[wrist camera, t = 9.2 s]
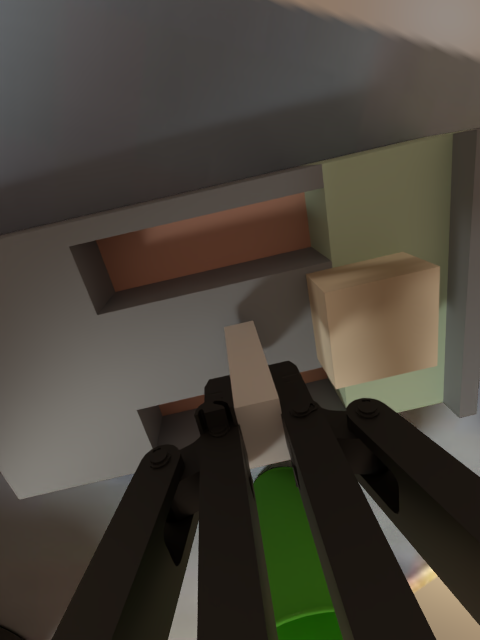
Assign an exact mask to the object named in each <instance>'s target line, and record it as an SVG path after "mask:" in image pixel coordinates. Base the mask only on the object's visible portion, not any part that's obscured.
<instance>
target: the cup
mask: <svg viewBox="0 0 480 640" xmlns="http://www.w3.org/2000/svg"><path fill="white" fill-rule="evenodd" d="M253 485H254V491H255V498H256V504H257V510H258V516H259V523H260V529H261V535H262V541H263V547H264V554H265V560H266V566H267V572H268V579H269V585H270V591H271V597H272V603H273V610H274V616H275V622H276V628H277V635H278V640H343V638H342V634H341V631H340V627H339V624H338V621H337V617H336V614H335V610H334V607H333V604H332V600H331V597H330V594H329V590H328V587H327V583H326V580H325V577H324V573H323V570H322V567H321V563H320V560H319V556H318V553H317V550H316V546H315V543H314V539H313V536H312V533H311V529H310V526H309V523H308V519H307V516H306V512H305V509H304V506H303V502H302V499H301V495H300V492H299V489H298V487H296V482H295V477H294V472H293V468H291V467H278V468H273V469H271V470H268V471H266V472H264V473H263V474H261V475H260V476H259V477H258V478H257V479H256V481H255V482H254V484H253Z"/></svg>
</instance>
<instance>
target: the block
mask: <svg viewBox="0 0 480 640" xmlns="http://www.w3.org/2000/svg"><path fill="white" fill-rule="evenodd" d="M306 279H307V286H308V294H309V301H310V308H311V315H312V322H313V330H314V337H315V344H316V351H317V359H318V360H319V362H320V364H321V365H322V367H323V369H324V370H325V372H326V374H327V375H328V377H329V379H330V380H331V382H332V384H333V385H334V387H335V389H339V388H344V387H348V386H352V385H357V384H361V383H365V382H370V381H374V380H378V379H383V378H387V377H391V376H396V375H400V374H404V373H409V372H413V371H417V370H422V369H426V368H430V367H435V366H437V362H438V324H439V286H440V266H438V265H435V264H433V263H430V262H428V261H425V260H423V259H420V258H418V257H415V256H413V255H410V254H408V253H405V252H399V253H395V254H391V255H386V256H382V257H378V258H373V259H369V260H365V261H360V262H356V263H352V264H347V265H343V266H339V267H334V268H330V269H326V270H321V271H317V272H313V273H308V274H306Z"/></svg>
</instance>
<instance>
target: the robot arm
mask: <svg viewBox="0 0 480 640" xmlns="http://www.w3.org/2000/svg"><path fill="white" fill-rule="evenodd" d="M224 332H225V339H226V347H227V355H228V363H229V371H230V375H227V376H222V377H218V378H214V379H209V381H208V382H207V384H206V386H205V387H204V396H205V397H204V403H203V404H201V405H200V406H199V407H198V408H197V409H196V411H195V414H194V417H195V420H196V423H197V426H198V429H199V432H200V437H199V438H198V439H197V440H196V441H195V442H193V443H192V444H190V445H188V446H186V447H184V448H182V449H180V450H179V449H178V448H177V447H176V446H174V445H170V444H165V445H160V446H157V447H155V448H153V449H151V450H150V451H149V452H148V453H146V454H145V456H144V457H143V458H142V460H141V462H140V464H139V466H138V468H137V470H136V472H135V474H134V476H133V478H132V480H131V482H130V484H129V486H128V488H127V490H126V492H125V494H124V496H123V498H122V500H121V502H120V504H119V506H118V508H117V510H116V512H115V514H114V516H113V518H112V520H111V522H110V524H109V526H108V528H107V530H106V532H105V534H104V536H103V538H102V540H101V542H100V544H99V546H98V548H97V550H96V552H95V554H94V556H93V558H92V560H91V562H90V564H89V566H88V568H87V570H86V572H85V574H84V576H83V578H82V580H81V582H80V584H79V586H78V588H77V590H76V592H75V594H74V596H73V598H72V600H71V602H70V604H69V606H68V608H67V610H66V612H65V614H64V616H63V618H62V620H61V622H60V624H59V626H58V628H57V630H56V632H55V634H54V636H53V638H52V640H168V637H169V633H170V629H171V625H172V621H173V617H174V614H175V610H176V606H177V602H178V598H179V594H180V590H181V587H182V583H183V579H184V575H185V571H186V567H187V563H188V560H189V556H190V552H191V548H192V544H193V540H194V536H195V532H196V529H197V525H198V521H199V555H198V626H197V640H278V635H277V628H276V622H275V616H274V610H273V603H272V597H271V591H270V585H269V579H268V572H267V566H266V560H265V554H264V547H263V541H262V535H261V529H260V523H259V516H258V510H257V504H256V498H255V491H254V485H253V480H252V476H251V472H250V469H252V468H256V467H260V466H265V465H269V464H274V463H278V462H282V461H287V460H291V462H292V467H293V472H294V477H295V482H296V487H298V489H299V492H300V495H301V499H302V502H303V506H304V509H305V512H306V516H307V519H308V523H309V526H310V529H311V533H312V536H313V539H314V543H315V546H316V550H317V553H318V556H319V560H320V563H321V567H322V570H323V573H324V577H325V580H326V583H327V587H328V590H329V594H330V597H331V600H332V604H333V607H334V610H335V614H336V617H337V621H338V624H339V627H340V631H341V634H342V638H343V640H436V638H435V636H434V634H433V632H432V630H431V628H430V626H429V624H428V622H427V620H426V618H425V616H424V614H423V612H422V610H421V608H420V606H419V604H418V602H417V600H416V598H415V596H414V594H413V592H412V590H411V588H410V586H409V584H408V582H407V580H406V578H405V576H404V574H403V572H402V570H401V568H400V566H399V564H398V562H397V559H396V557H395V555H394V553H393V551H392V549H391V547H390V545H389V543H388V541H387V539H386V537H385V535H384V533H383V531H382V529H381V527H380V525H379V523H378V521H377V519H376V517H375V515H374V513H373V511H372V509H371V507H370V505H369V503H368V501H367V499H366V497H365V495H364V493H363V491H362V489H361V487H360V485H359V483H360V484H361V486H362V487H363V488H364V489H365V490H366V491H367V493H368V494H369V495H370V496H371V497H372V499H373V500H374V501H375V502H376V503H377V504H378V506H379V507H380V508H381V509H382V510H383V512H384V513H385V514H386V515H387V516H388V517H389V519H390V520H391V521H392V522H393V523H394V525H395V526H396V527H397V528H398V529H399V530H400V532H401V533H402V534H403V535H404V536H405V538H406V539H407V540H408V541H409V542H410V543H411V545H412V546H413V547H414V548H415V549H416V551H417V552H418V553H419V554H420V555H421V557H422V558H423V559H424V560H425V561H426V562H427V564H428V565H429V566H430V567H431V568H432V570H433V571H434V572H435V573H436V574H437V575H438V577H439V578H440V579H441V580H442V581H443V582H444V584H445V585H446V586H447V587H448V588H449V590H450V591H451V592H452V593H453V594H454V596H455V597H456V598H457V599H458V600H459V601H460V603H461V604H462V605H463V606H464V607H465V609H466V610H467V611H468V612H469V613H470V614H471V616H472V617H473V618H474V619H475V620H476V622H477V623H478V624H479V625H480V477H479V476H478V475H476V474H475V473H474V472H472V471H471V470H470V469H469V468H467V467H466V466H465V465H463V464H462V463H461V462H460V461H458V460H457V459H456V458H454V457H453V456H452V455H451V454H449V453H448V452H447V451H445V450H444V449H443V448H441V447H440V446H439V445H438V444H436V443H435V442H434V441H432V440H431V439H430V438H429V437H427V436H426V435H425V434H423V433H422V432H421V431H420V430H418V429H417V428H416V427H414V426H413V425H412V424H411V423H409V422H408V421H407V420H405V419H404V418H403V417H401V416H400V415H399V414H398V413H396V412H395V411H394V410H392V409H391V408H390V407H389V406H387V405H386V404H385V403H383V402H381V401H379V400H376V399H372V398H360V399H356V400H354V401H352V402H351V403H349V405H348V406H347V408H346V411H335V410H328V409H324V408H322V407H321V406H320V405H319V404H318V403H317V402H315V401H313V399H312V397H311V395H310V392H309V390H308V388H307V386H306V384H305V382H304V380H303V378H302V376H301V374H300V372H299V370H298V368H297V366H296V365H295V364H293V363H292V362H290V361H284V362H280V363H276V364H271V365H268V364H267V361H266V358H265V355H264V352H263V349H262V346H261V343H260V340H259V337H258V334H257V331H256V328H255V325H254V322H253V321H249V322H244V323H240V324H235V325H231V326H227V327H224ZM358 482H359V483H358ZM0 640H22V639H21V638H20V637H18V636H17V635H15V634H13V633H11V632H9V631H7V630H5V629H3V628H0Z"/></svg>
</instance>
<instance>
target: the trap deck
mask: <svg viewBox="0 0 480 640" xmlns="http://www.w3.org/2000/svg"><path fill="white" fill-rule="evenodd" d="M399 252H405V253H408V254H410V255H413V256H415V257H418V258H420V259H423V260H425V261H428V262H430V263H433V264H435V265H438V266H440V286H439V324H438V362H437V366H435V367H430V368H426V369H422V370H417V371H413V372H409V373H404V374H400V375H396V376H391V377H387V378H383V379H378V380H374V381H370V382H365V383H361V384H357V385H352V386H348V387H344V388H339V389H335V387H334V385H333V384H332V382H331V380H330V379H329V377H328V375H327V374H326V372H325V370H324V369H323V367H322V365H321V364H320V362H319V360H318V359H317V351H316V344H315V337H314V330H313V322H312V315H311V308H310V301H309V294H308V286H307V279H306V274H308V273H313V272H317V271H321V270H326V269H330V268H334V267H339V266H343V265H347V264H352V263H356V262H360V261H365V260H369V259H373V258H378V257H382V256H386V255H391V254H395V253H399ZM249 321H253V322H254V325H255V328H256V331H257V334H258V337H259V340H260V343H261V346H262V349H263V352H264V355H265V358H266V361H267V364H268V365H271V364H276V363H280V362H284V361H290V362H292V363H293V364H295V365H296V366H297V368H298V370H299V372H300V374H301V376H302V378H303V380H304V382H305V384H306V386H307V388H308V390H309V392H310V395H311V397H312V399H313V401H315V402H317V403H318V404H319V405H320V406H321V407H322V408H324V409H328V410H335V411H346V408H347V406H348V405H349V403H351V402H352V401H354V400H356V399H360V398H372V399H376V400H379V401H381V402H383V403H385V404H386V405H387V406H389V407H390V408H391V409H392V410H394V411H395V412H396V413H398V412H403V411H407V410H412V409H416V408H420V407H425V406H429V405H433V404H438V403H442V402H443V403H444V404H445V405H447V406H448V407H449V408H450V409H451V410H452V411H453V412H454V413H455V414H456V415H457V416H458V417H459V418H462V417H466V416H470V415H475V414H476V411H477V400H478V388H479V377H480V128H475V129H469V130H464V131H458V132H452V133H446V134H440V135H434V136H428V137H422V138H418V139H414V140H409V141H405V142H401V143H396V144H392V145H388V146H384V147H379V148H375V149H371V150H366V151H362V152H358V153H353V154H349V155H345V156H340V157H336V158H332V159H327V160H323V161H319V162H314V163H310V164H306V165H301V166H297V167H293V168H288V169H284V170H280V171H276V172H271V173H267V174H263V175H258V176H254V177H250V178H245V179H241V180H237V181H232V182H228V183H224V184H219V185H215V186H211V187H206V188H202V189H198V190H193V191H189V192H185V193H181V194H176V195H172V196H168V197H163V198H159V199H155V200H150V201H146V202H142V203H137V204H133V205H129V206H124V207H120V208H116V209H111V210H107V211H103V212H98V213H94V214H90V215H85V216H81V217H77V218H73V219H68V220H64V221H60V222H55V223H51V224H47V225H42V226H38V227H34V228H29V229H25V230H21V231H16V232H12V233H8V234H3V235H0V472H1V473H2V475H3V476H4V478H5V479H6V481H7V482H8V484H9V485H10V487H11V488H12V490H13V491H14V493H15V494H16V496H17V497H18V498H19V500H20V499H24V498H28V497H33V496H37V495H41V494H46V493H50V492H54V491H59V490H63V489H67V488H72V487H76V486H81V485H85V484H89V483H94V482H98V481H102V480H107V479H111V478H115V477H120V476H124V475H128V474H133V473H135V472H136V470H137V468H138V466H139V464H140V462H141V460H142V458H143V457H144V456H145V454H146V453H148V452H149V451H150V450H151V449H153V448H155V447H157V446H160V445H165V444H170V445H174V446H176V447H177V448H178V449H179V450H180V449H182V448H184V447H186V446H188V445H190V444H192V443H193V442H195V441H196V440H197V439H198V438H199V437H200V432H199V429H198V426H197V423H196V420H195V417H194V414H195V411H196V409H197V408H198V407H199V406H200V405H201V404H203V403H204V397H205V396H204V387H205V386H206V384H207V382H208V381H209V379H214V378H218V377H222V376H227V375H230V371H229V363H228V355H227V347H226V339H225V332H224V327H227V326H231V325H235V324H240V323H244V322H249Z"/></svg>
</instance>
